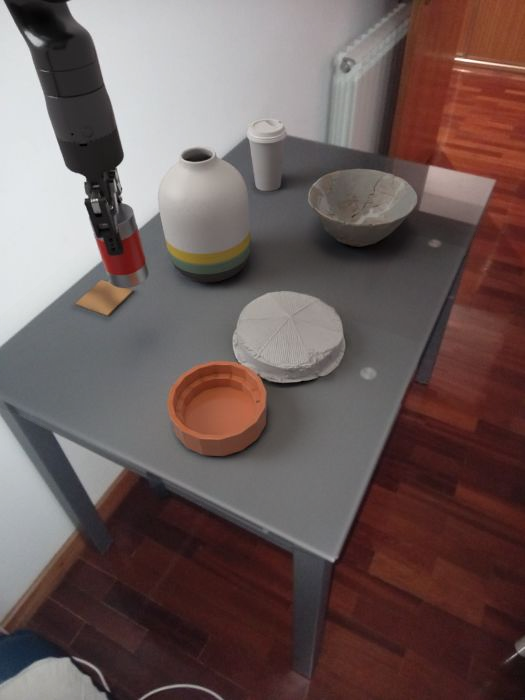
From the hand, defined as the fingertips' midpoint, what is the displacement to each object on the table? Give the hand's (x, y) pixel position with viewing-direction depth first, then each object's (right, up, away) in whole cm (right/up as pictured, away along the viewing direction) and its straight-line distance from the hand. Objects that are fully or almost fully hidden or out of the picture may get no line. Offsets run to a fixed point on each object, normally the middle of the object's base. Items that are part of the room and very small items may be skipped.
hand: (118, 239), depth 73 cm
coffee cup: (+23, +26, +53) cm, 63 cm away
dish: (+15, -27, +4) cm, 31 cm away
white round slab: (+26, -15, +15) cm, 33 cm away
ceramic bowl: (+43, +9, +37) cm, 57 cm away
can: (0, -5, +5) cm, 7 cm away
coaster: (-10, -6, +24) cm, 27 cm away
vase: (+11, +1, +31) cm, 33 cm away
